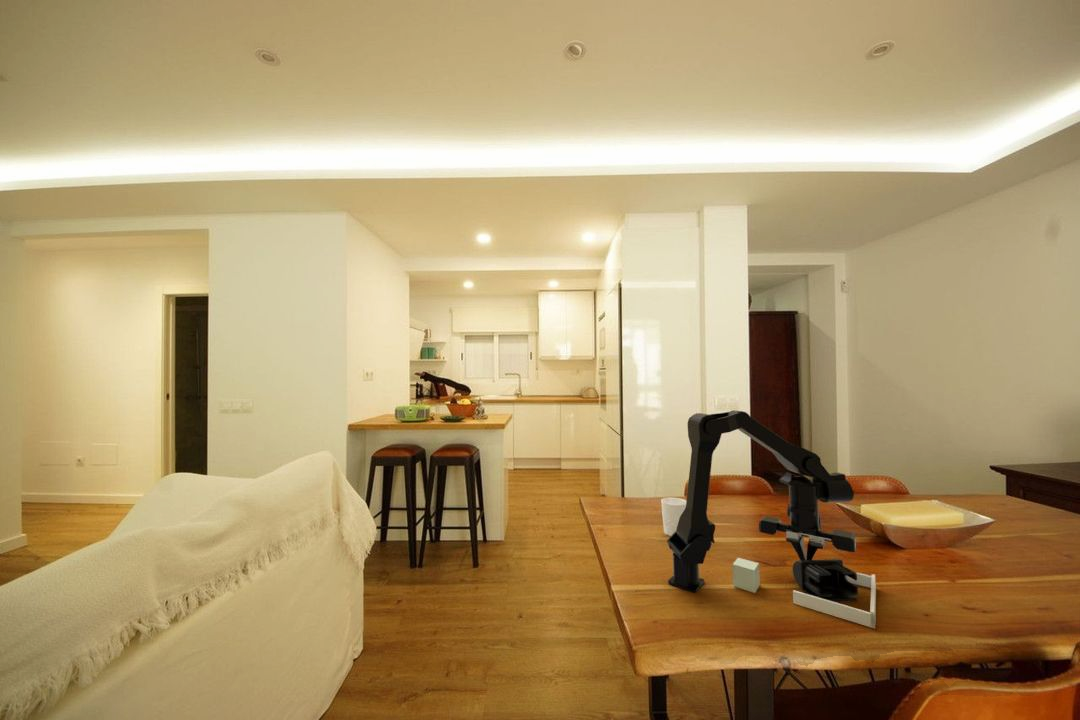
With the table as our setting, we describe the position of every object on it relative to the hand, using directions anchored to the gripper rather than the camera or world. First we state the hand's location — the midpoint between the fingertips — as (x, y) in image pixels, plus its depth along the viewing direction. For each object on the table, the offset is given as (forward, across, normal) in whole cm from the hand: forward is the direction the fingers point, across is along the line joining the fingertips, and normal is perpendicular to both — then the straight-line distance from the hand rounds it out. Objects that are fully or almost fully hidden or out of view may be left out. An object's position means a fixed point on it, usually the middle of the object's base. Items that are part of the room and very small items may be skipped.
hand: (806, 569), depth 92 cm
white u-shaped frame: (+2, -6, +4) cm, 7 cm away
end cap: (+3, -4, +4) cm, 6 cm away
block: (+3, +10, +12) cm, 16 cm away
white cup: (+3, +35, -8) cm, 36 cm away
